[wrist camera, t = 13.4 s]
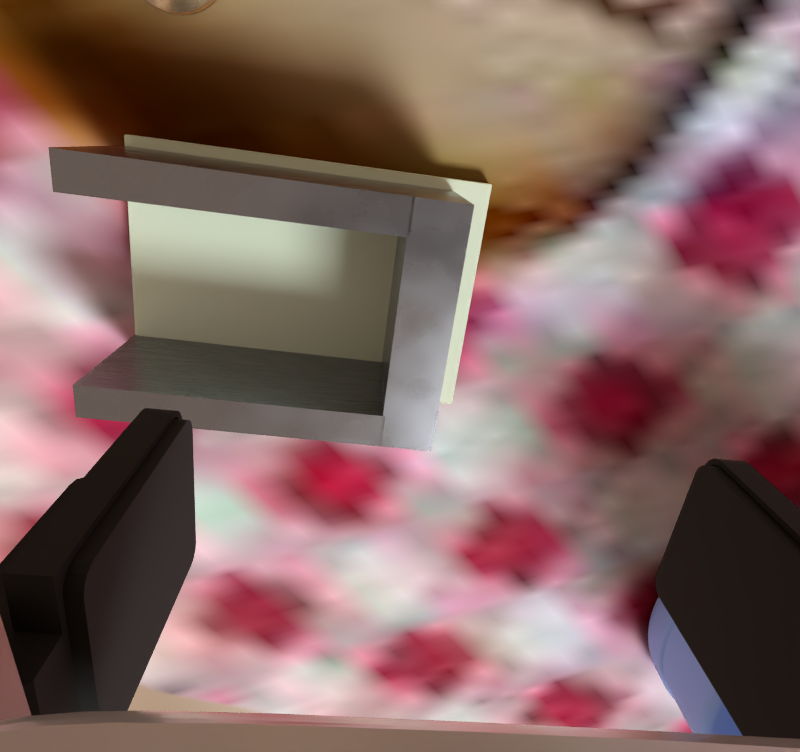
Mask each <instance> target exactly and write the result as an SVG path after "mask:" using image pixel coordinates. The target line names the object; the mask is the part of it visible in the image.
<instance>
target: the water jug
mask: <svg viewBox="0 0 800 752" xmlns="http://www.w3.org/2000/svg"><path fill="white" fill-rule="evenodd" d="M648 644H649V651H650V655H651V658H652V661H653V663H654V666H655V668H656V670H657V672H658V674H659V675H660V677H661V679H662V681H663V683H664V685H665V687H666V689H667V690H668V692H669V693H670V694H671V696H672V697H673V698H674V699H675V701H676V702H677V704H678V706H679V708H680V710H681V712H682V714H683V716H684V717H685V719H686V721H687V723H688V725H689V727H690V729H691V731H692V732H693V733H701V734H719V735H737V736H742V734H741V732H740V731H739V729H738V727H737V726H736V724H735V722H734V721H733V719H732V717H731V716H730V714H729V712H728V711H727V709H726V707H725V706H724V704H723V702H722V701H721V699H720V697H719V696H718V694H717V692H716V691H715V689H714V687H713V686H712V684H711V682H710V681H709V679H708V677H707V676H706V674H705V673H704V671H703V669H702V668H701V666H700V664H699V663H698V661H697V659H696V658H695V656H694V654H693V653H692V651H691V649H690V648H689V646H688V644H687V643H686V641H685V639H684V638H683V636H682V634H681V633H680V631H679V629H678V628H677V626H676V624H675V623H674V621H673V619H672V618H671V616H670V614H669V613H668V611H667V610H666V608H665V606H664V605H663V603H662V601H661V600H660V598H659V597H658V599H657V601H656V603H655V605H654V608H653V611H652V614H651V617H650V622H649V628H648Z"/></svg>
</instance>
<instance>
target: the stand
mask: <svg viewBox="0 0 800 752" xmlns="http://www.w3.org/2000/svg"><path fill="white" fill-rule="evenodd" d="M145 1H146V2H148V3H149V4H151V5H153V6H154V7H156V8H158V9H160V10H162V11H165V12H167V13H171V14H175V15H191V14H195V13H198V12H201V11H203V10H205V9H206V8H208V7H210V6H211V5H212V4H213V3H214V2H215V1H216V0H145Z"/></svg>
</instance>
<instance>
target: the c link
mask: <svg viewBox="0 0 800 752" xmlns="http://www.w3.org/2000/svg"><path fill="white" fill-rule="evenodd" d="M49 155H50V165H51V175H52V185H53V192H60V193H68V194H75V195H83V196H91V197H99V198H106V199H114V200H122V201H130V202H137V203H145V204H153V205H161V206H168V207H176V208H184V209H192V210H199V211H207V212H215V213H223V214H231V215H238V216H246V217H254V218H262V219H269V220H277V221H285V222H293V223H300V224H308V225H316V226H324V227H331V228H339V229H347V230H355V231H362V232H370V233H378V234H386V235H393V236H398V239H397V247H396V255H395V262H394V270H393V278H392V286H391V294H390V301H389V309H388V317H387V325H386V333H385V340H384V348H383V356H382V362H376V361H367V360H358V359H349V358H339V357H330V356H321V355H312V354H303V353H294V352H284V351H275V350H266V349H257V348H248V347H239V346H229V345H220V344H211V343H202V342H193V341H184V340H174V339H165V338H156V337H147V336H138V335H134V336H133V337H132V338H130V339H129V340H128V341H127V342H126V343H124V344H123V345H122V346H121V347H119V348H118V349H117V350H116V351H114V352H113V353H112V354H111V355H109V356H108V357H107V358H106V359H104V360H103V361H102V362H101V363H99V364H98V365H97V366H96V367H95V368H93V369H92V370H91V371H90V372H88V373H87V374H86V375H85V376H83V377H82V378H81V379H80V380H78V381H77V382H76V383H75V384H73V392H74V402H75V411H76V417H81V418H92V419H102V420H112V421H123V422H132V421H133V420H134V419H135V418H136V416H137V415H138V414H139V413H140V412H141V411H142V410H143V409H144V408H152V409H163V410H174V411H179V412H180V413H181V416H182V419H184V420H190V421H191V423H192V428H196V429H206V430H216V431H227V432H237V433H248V434H258V435H269V436H279V437H289V438H300V439H310V440H321V441H331V442H341V443H352V444H362V445H373V446H383V447H393V448H404V449H414V450H425V451H431V448H432V443H433V437H434V431H435V426H436V420H437V414H438V409H439V403H440V397H441V392H442V386H443V380H444V374H445V369H446V363H447V357H448V352H449V346H450V340H451V335H452V329H453V323H454V318H455V312H456V306H457V301H458V295H459V289H460V284H461V278H462V272H463V267H464V261H465V255H466V250H467V244H468V238H469V233H470V227H471V221H472V216H473V210H474V204H472V203H471V202H469V201H468V200H466V199H465V198H463V197H462V196H460V195H459V194H457V193H456V192H454V191H452V190H445V189H437V188H430V187H423V186H415V185H408V184H401V183H394V182H386V181H379V180H372V179H364V178H357V177H350V176H343V175H335V174H328V173H321V172H313V171H306V170H299V169H291V168H284V167H277V166H270V165H262V164H255V163H248V162H240V161H233V160H226V159H219V158H211V157H204V156H197V155H189V154H182V153H175V152H168V151H160V150H153V149H146V148H138V147H131V146H85V147H49Z"/></svg>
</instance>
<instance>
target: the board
mask: <svg viewBox="0 0 800 752" xmlns="http://www.w3.org/2000/svg"><path fill="white" fill-rule="evenodd" d="M124 143H125V146H131V147H138V148H146V149H153V150H160V151H168V152H175V153H182V154H189V155H197V156H204V157H211V158H219V159H226V160H233V161H240V162H248V163H255V164H262V165H270V166H277V167H284V168H291V169H299V170H306V171H313V172H321V173H328V174H335V175H343V176H350V177H357V178H364V179H372V180H379V181H386V182H394V183H401V184H408V185H415V186H423V187H430V188H437V189H445V190H452V191H454V192H456V193H457V194H459V195H460V196H462V197H463V198H465V199H466V200H468V201H469V202H471V203H472V204H474V210H473V216H472V221H471V227H470V233H469V238H468V244H467V250H466V255H465V261H464V267H463V272H462V278H461V284H460V289H459V295H458V301H457V306H456V312H455V318H454V323H453V329H452V335H451V340H450V346H449V352H448V357H447V363H446V369H445V374H444V380H443V386H442V392H441V397H440V403H445V404H452V400H453V395H454V389H455V384H456V378H457V373H458V368H459V362H460V357H461V351H462V346H463V340H464V335H465V329H466V324H467V318H468V313H469V307H470V302H471V297H472V291H473V286H474V280H475V275H476V269H477V264H478V258H479V253H480V247H481V242H482V237H483V231H484V226H485V220H486V215H487V209H488V204H489V198H490V193H491V187H492V184H489V183H482V182H475V181H467V180H460V179H453V178H445V177H438V176H431V175H423V174H416V173H409V172H401V171H394V170H387V169H379V168H372V167H365V166H357V165H350V164H343V163H335V162H328V161H321V160H313V159H306V158H299V157H291V156H284V155H277V154H269V153H262V152H255V151H247V150H240V149H233V148H225V147H218V146H211V145H203V144H196V143H189V142H181V141H174V140H167V139H159V138H152V137H145V136H137V135H124ZM128 215H129V233H130V251H131V269H132V287H133V305H134V323H135V335H138V336H147V337H156V338H165V339H174V340H184V341H193V342H202V343H211V344H220V345H229V346H239V347H248V348H257V349H266V350H275V351H284V352H294V353H303V354H312V355H321V356H330V357H339V358H349V359H358V360H367V361H376V362H382V356H383V348H384V340H385V333H386V325H387V317H388V309H389V301H390V294H391V286H392V278H393V270H394V262H395V255H396V247H397V239H398V236H393V235H386V234H378V233H370V232H362V231H355V230H347V229H339V228H331V227H324V226H316V225H308V224H300V223H293V222H285V221H277V220H269V219H262V218H254V217H246V216H238V215H231V214H223V213H215V212H207V211H199V210H192V209H184V208H176V207H168V206H161V205H153V204H145V203H137V202H130V201H128Z"/></svg>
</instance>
